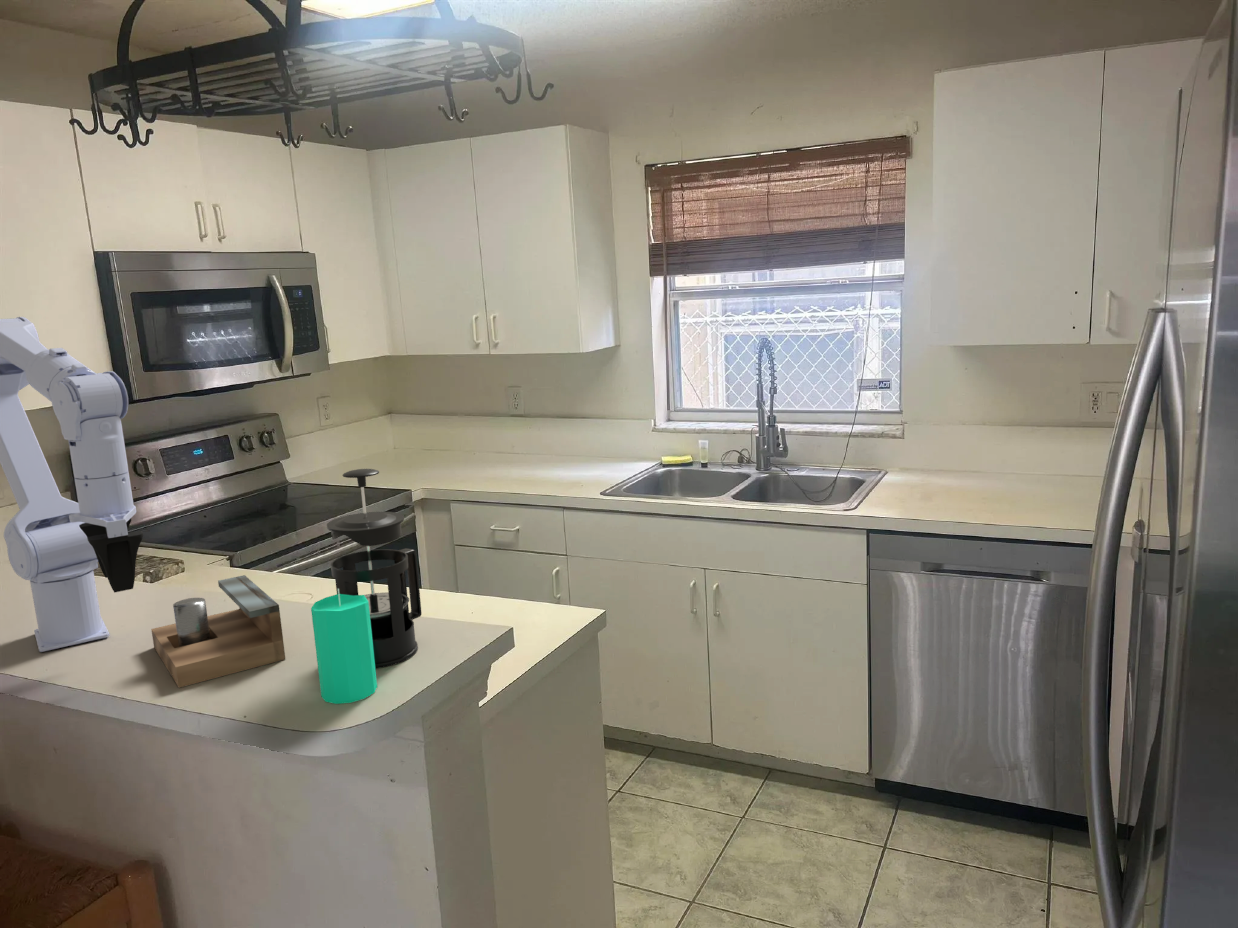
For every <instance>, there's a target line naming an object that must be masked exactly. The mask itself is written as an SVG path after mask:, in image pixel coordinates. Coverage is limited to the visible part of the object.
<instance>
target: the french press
mask: <svg viewBox="0 0 1238 928" xmlns="http://www.w3.org/2000/svg"><path fill="white" fill-rule="evenodd" d="M379 474H380V471H379V470H378V469H373V468H358V469H352V470H349V471H346V472H344V473H343V474H342V477H343V478H347V479H349V478H350V479H351V478H352V479H354V478H355V479H356V480H357V486H358V488H360V492H361V493H360V494H361V502H362V512H360V513H359V512H358V513H353V514H348V515H344V516H340V517H337V518H334V519H332V520H330V521H329V522H327V523H326V529H327V530H328V531H330V532H331V533H330V535H331V538H332V540H336V539H338V538H340V537H342V536H346V537H347V538H349V539H351V540H352V541H353V542H355V543H357V544H358V545H360V546H364V547H366V550H362V551H361V550H360V551H357V552H352V553H349V554H345V555H343V556H342V555H341V556H340V557H337V558H336V559H334V560H333V561H332V562H331V563H330V569H331V576H332V578H333V579H335V589H336V590H335V591H336V594H338V589H339V594H345V595H353V596H354V595H359V588H358V587H359V586H358V583H363V582H366V583H367V582H370V591H371V593H369V594H363V595H364V596H365V597H366V599H367V600H368V602H369V611H370V621H371V631H372V640H373V650H374V660H375V669H379V668H387V667H390V666H393V665H394V666H395V665H398V664H400V663H403V662H405V661H407V660H409V659H410V658H412V657H413V656H414V655H416V653H417V652H418V649H419V645H418V642H417V641H416V633H415V622H414V620H415V619H417V618H421V616H422V604H421V603H422V602H421V591H420V583H419V582H420V581H419V571H418V558H417V551H416V550H415V549H412V548H408V547H407V548H406V547H405V548H402V549H399V550H398V549H390V548H388V549H387V548H386V549H383V548H382V549H371V547H373V546H379V545H385V544H387V543H391V542H394V541H396V540H398V539H399V538H401V537H402V532H403V531H402V524H403V522H404V521H405V517H404V516H405V515H404V514H401V513H399V512H393V511H368V512H367V506H366V505H367V503H366V495H365V488H366V487H367V479H366V478H367V477H372V476H375V475H379ZM383 560H386V561H387V560H388V561H394V564H392V565H389V566H388V565H387V566H385V567H381V568H373V565H372V564H373V563H372V561H383ZM363 562H368V563H367V564H368V569H366V570H365V569H364V570H357V569H356V564H358V563H363ZM406 571H407V574H406ZM406 575H407V576H406ZM385 579H387V580H386V582H387V589H388V590H387V591H388V592H375V585H374V581H380V580H385ZM407 581H408V586H407ZM408 590H409V592H408ZM408 593H409V596H408ZM409 603H410V608H409Z"/></svg>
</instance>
